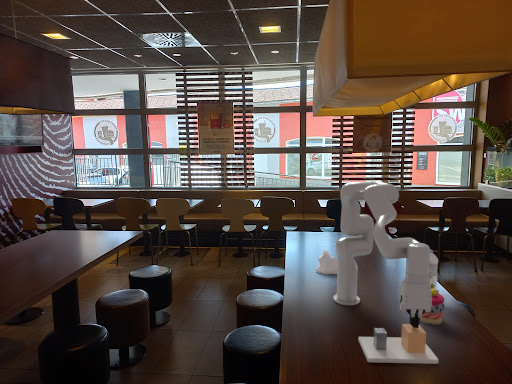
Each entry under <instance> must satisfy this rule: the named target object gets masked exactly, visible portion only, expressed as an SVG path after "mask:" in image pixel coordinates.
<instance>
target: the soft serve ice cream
mask: <svg viewBox="0 0 512 384" xmlns="http://www.w3.org/2000/svg"><path fill="white" fill-rule="evenodd" d="M318 262H319V264H318V266H317V267H316V269H315V271H316V272H315V273H318V274H321V275H322V274H323V275H337V258H335V257H334V256H332V254H331V253H330V252H329V251H328V250H326V249H325V250H323V253H322V254H321V256H319V257H318Z"/></svg>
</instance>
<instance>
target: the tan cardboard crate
mask: <svg viewBox="0 0 512 384" xmlns="http://www.w3.org/2000/svg"><path fill="white" fill-rule="evenodd" d="M400 337H401V344H402V345H403V347H404V348H405V350H406V351H407V353H425V346H426V344H427V341H426V340H427V332H426V331H425V329H424V328H423V327H422V326H421V325H420V324H419V326H418V328H413V327H412V325H411V324H410V323H402V324H401V336H400Z"/></svg>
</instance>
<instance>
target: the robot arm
mask: <svg viewBox="0 0 512 384" xmlns="http://www.w3.org/2000/svg"><path fill="white" fill-rule="evenodd" d="M339 197H340V202H341V214H340V231H341V233H342V234H343V235H346V236H345V237H340V238H339V239H338V240H337V241H336V243H335V251H336V252H335V253H336V259H337V274H336V293H335V294H334V295H333V297H332V299H333V301H334V302H335V303H338V304H339V305H343V306H350V307H351V306H357V305H358V304H360V302H361V298H360V297H359V296H358V295H357V294H358V270H359V269H358V264H357V262H356V261H355V259H354V258H355V257H362V256H363V257H364V256H368V255H369V254H371V253H372V251H373V246H374V242H375V245H376V247H377V248H378V250H379V252H380V254H381V255H382V257H383V258H385V259H387V260H398V259H406V260H405V278H403V279H402V281H401V285H400V290H399V296H398V301H399V304H400V306H399V310H400V311H401V312H404V313H407V314H408V315H409V324H411V325H412V327H413V328H418V326H419V325H420V323H421V321H420V318H421V316H422V315H423V314H424V313H425V312H429V311H431V306H432V293H431V285H430V282H429V279H430V278H432V275H430V274H429V261H430V250H431V248H430V246H429V245H428V244H426V243H422V242H420V241H418V240H416V238H412V237H409V236H408V237H398V238H390V237H389V235H388V233H387V231H386V229H385V228H386V227H385V226H387V225H389V224H390V223H392V222H393V221H394V220H395V219H396V218H397V215H398V213H397V210H396V209H395V207H394V206H393V204H395V203H396V202H397V201H398V200H399V198H400V193H399V190H398V188H397V187H396V186H395V185H394V184H392V183H386V182H381V181H351V182H347V183H344V184H343V185H342V187H341V189H340V195H339ZM359 201H360V202H361V201H365V202H366V204H367V206H368V208H369V210H370V212H371V214H372V216H373V218H374V219H375V223H374V220H373V218H372V217H371V216H370V214H365V213H364V214H361V205H360V203H359Z"/></svg>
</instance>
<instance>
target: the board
mask: <svg viewBox="0 0 512 384" xmlns="http://www.w3.org/2000/svg"><path fill="white" fill-rule="evenodd" d="M373 339H374V336H358V343H359V345H360V346H361V350H362V351H363V355H364V356H365V358H366V361H367V362H368V363H386V364H387V363H389V364H390V363H393V364H431V365H432V364H433V365H434V364H435V365H437V364H438V365H439V362H440V361H439V358H438V357H437V355H436V354H435V353H434V351H432V349H431V348H430V346H428V344H427V343H426V346H425V353H407V351H406V350H405V348H404V347H403V345H402V344H401V336H400V337H399V336H398V337H395V336H394V337H391V336H387V343H386V350H376V349H375V347H374V345H373Z"/></svg>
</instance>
